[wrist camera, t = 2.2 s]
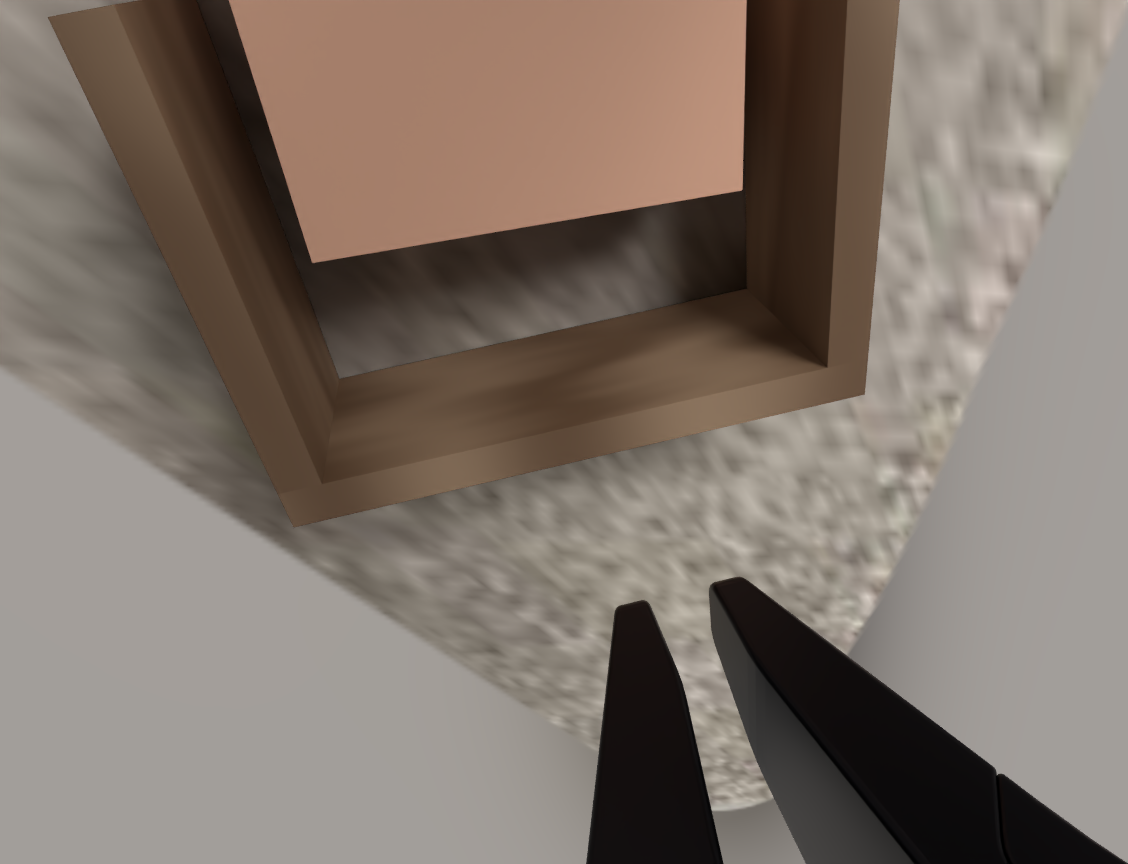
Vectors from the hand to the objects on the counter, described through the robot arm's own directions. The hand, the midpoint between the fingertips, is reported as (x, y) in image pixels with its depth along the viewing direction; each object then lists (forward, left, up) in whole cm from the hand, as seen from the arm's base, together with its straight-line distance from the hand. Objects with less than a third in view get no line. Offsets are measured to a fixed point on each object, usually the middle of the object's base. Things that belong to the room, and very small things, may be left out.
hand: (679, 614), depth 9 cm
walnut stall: (0, -2, -13) cm, 13 cm away
